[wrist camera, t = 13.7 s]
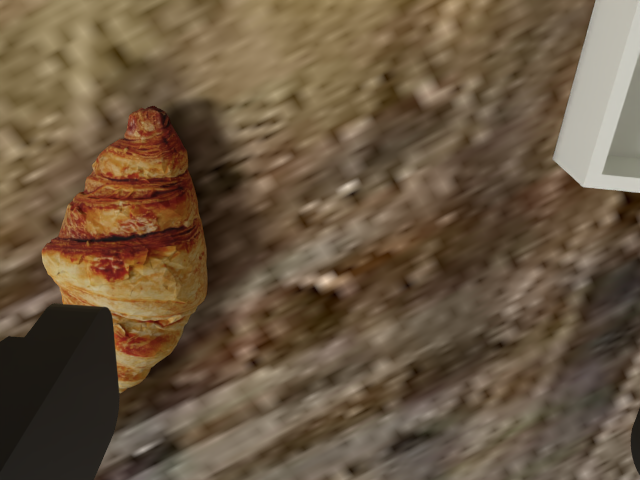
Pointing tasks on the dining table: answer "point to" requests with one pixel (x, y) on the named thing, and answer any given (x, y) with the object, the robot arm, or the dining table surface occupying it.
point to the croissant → (135, 244)
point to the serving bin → (605, 102)
